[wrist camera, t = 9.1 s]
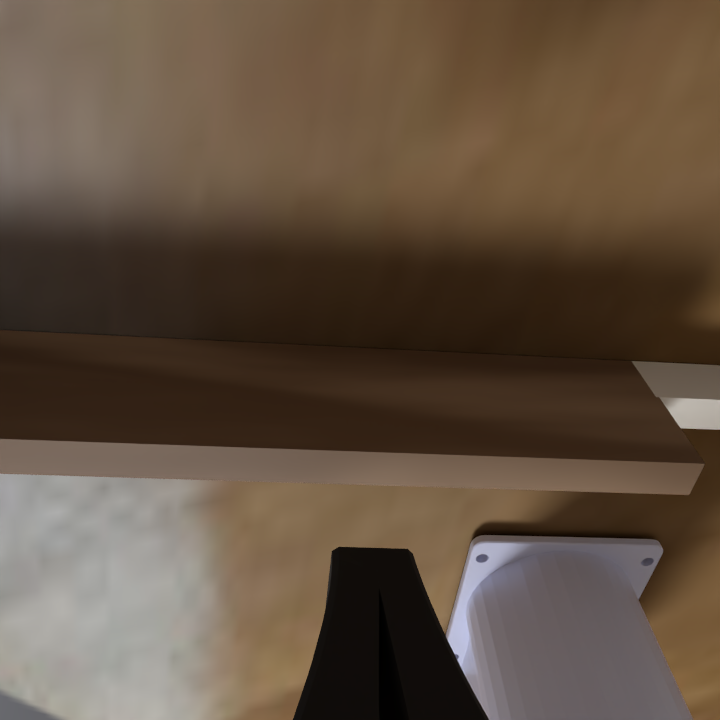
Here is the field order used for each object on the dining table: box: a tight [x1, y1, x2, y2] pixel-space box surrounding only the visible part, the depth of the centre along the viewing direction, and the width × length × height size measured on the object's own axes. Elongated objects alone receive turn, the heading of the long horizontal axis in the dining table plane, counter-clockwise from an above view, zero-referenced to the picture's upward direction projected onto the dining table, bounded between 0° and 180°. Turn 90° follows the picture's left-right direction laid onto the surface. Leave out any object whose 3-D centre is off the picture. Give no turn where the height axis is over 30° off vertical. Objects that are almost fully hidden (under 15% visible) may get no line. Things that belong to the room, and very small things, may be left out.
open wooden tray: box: [0, 330, 705, 495], centre depth 15 cm, size 17×24×5 cm
